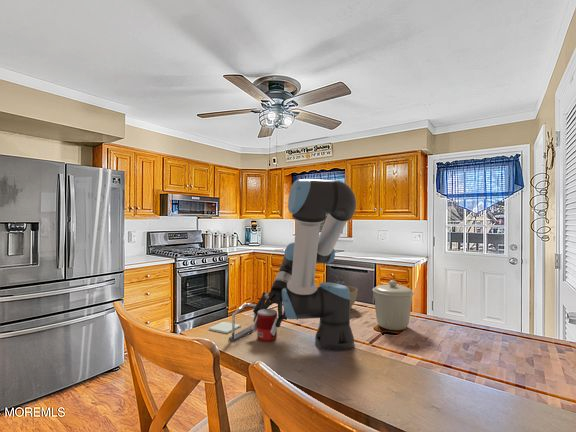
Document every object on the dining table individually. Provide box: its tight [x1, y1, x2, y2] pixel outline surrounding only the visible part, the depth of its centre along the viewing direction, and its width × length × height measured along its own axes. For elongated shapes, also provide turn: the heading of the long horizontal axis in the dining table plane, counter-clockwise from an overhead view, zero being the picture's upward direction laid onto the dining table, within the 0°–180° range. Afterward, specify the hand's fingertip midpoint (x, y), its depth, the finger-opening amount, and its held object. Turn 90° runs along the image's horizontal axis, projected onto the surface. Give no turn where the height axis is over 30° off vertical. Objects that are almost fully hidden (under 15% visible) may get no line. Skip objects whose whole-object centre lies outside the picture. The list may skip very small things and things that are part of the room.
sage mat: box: [208, 321, 242, 334], centre depth 143 cm, size 10×10×1 cm
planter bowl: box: [345, 285, 358, 311], centre depth 175 cm, size 16×16×11 cm
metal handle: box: [228, 302, 257, 343], centre depth 137 cm, size 3×18×13 cm, turn 153°
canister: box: [371, 279, 415, 331], centre depth 147 cm, size 18×18×21 cm
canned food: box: [256, 308, 278, 343], centre depth 132 cm, size 8×8×11 cm
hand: (262, 332), depth 129 cm, fingers closed on canned food, 8 cm apart
